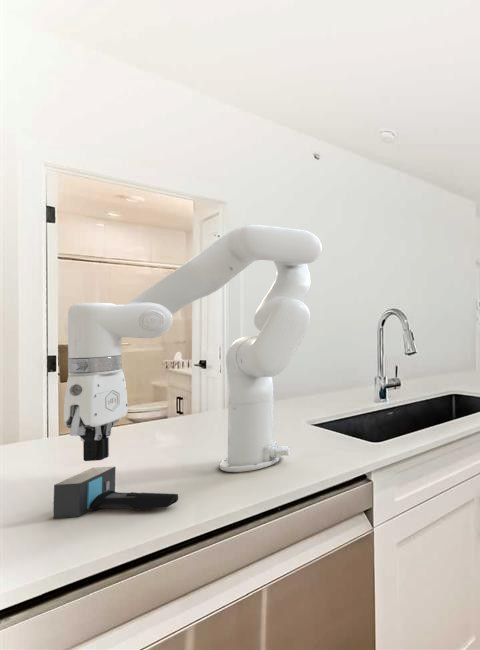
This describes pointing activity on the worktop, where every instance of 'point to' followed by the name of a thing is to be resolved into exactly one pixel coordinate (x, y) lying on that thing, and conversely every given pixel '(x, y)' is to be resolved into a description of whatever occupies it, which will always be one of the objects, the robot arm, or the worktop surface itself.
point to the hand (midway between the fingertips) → (96, 459)
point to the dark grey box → (82, 491)
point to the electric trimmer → (133, 500)
